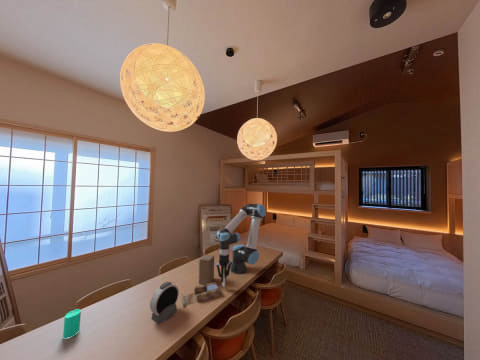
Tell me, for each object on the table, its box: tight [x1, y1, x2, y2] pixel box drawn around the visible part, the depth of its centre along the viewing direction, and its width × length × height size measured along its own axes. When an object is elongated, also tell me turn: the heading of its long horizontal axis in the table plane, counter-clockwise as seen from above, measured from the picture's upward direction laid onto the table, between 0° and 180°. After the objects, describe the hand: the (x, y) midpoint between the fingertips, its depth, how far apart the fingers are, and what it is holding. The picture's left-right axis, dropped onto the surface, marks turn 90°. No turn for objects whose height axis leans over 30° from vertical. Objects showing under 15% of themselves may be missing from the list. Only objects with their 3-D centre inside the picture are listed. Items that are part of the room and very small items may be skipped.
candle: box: [62, 308, 82, 338], centre depth 84 cm, size 6×6×12 cm
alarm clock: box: [149, 281, 180, 325], centre depth 98 cm, size 16×10×18 cm, turn 148°
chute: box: [180, 281, 221, 308], centre depth 115 cm, size 25×11×5 cm, turn 116°
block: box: [207, 283, 219, 291], centre depth 118 cm, size 7×6×4 cm
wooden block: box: [198, 254, 215, 285], centre depth 134 cm, size 10×10×20 cm
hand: (223, 285), depth 122 cm, fingers closed
